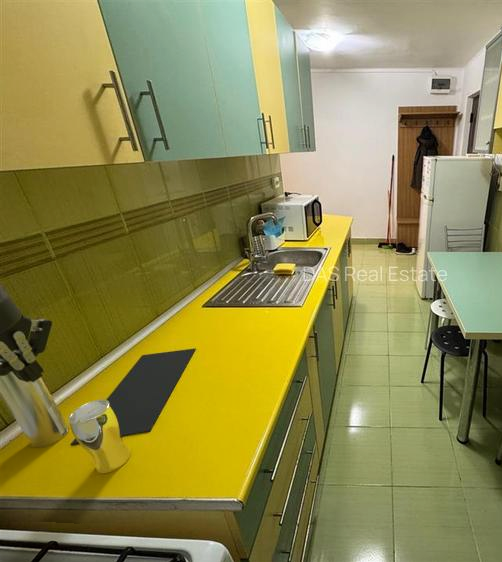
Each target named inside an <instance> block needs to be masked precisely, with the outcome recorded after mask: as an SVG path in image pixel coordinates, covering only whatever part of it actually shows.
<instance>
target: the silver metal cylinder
mask: <svg viewBox="0 0 502 562" xmlns="http://www.w3.org/2000/svg"><path fill="white" fill-rule="evenodd" d="M1 364H2V363H0V365H1ZM0 397H1V399H2V400H3V402H4V403H5V405H6V407H7V408H8V410H9V411H10V413H11V414H12V416H13V418H14V419H15V421H16V423H17V424H18V425H19V427H20V429H21V430H22V432H23V434H24V435H25V437H26V438H27V440H28V441H29V443H30V444H31V446H32V447H33V448H35V449H42V448H46V447H48V446H51V445H53V444H55V443H57V442H59V441H60V440H61V439H63V438H64V437H65V436H66V435H67V434H68V433H69V431H70V427H69V426H68V425H69V424H68V423H67V421H66V420H65V417H64V416H63V414H62V413H61V411H60V409H59V407H58V405H57V403H56V402H55V399H54V398H53V396H52V394H51V392H50V390H49V389H48V387H47V385H46V384H45V382H44V380H43V378H42V377H40V378H39V379H37V380H36V381H34V382H30V381H29V382H25V381H22V380H19V379H18V378H17V377H16V376H15V375H14V374H13V372H9V373H8V374H7V375H5V376H0Z"/></svg>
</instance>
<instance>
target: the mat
mask: <svg viewBox="0 0 502 562" xmlns="http://www.w3.org/2000/svg"><path fill="white" fill-rule="evenodd" d="M196 350H197V348H196V347H195V348H188V349H180V350H171V351H164V352H156V353H155V352H154V353H148V354H142V355H141V356H140V357H139V359H137V361H136V362H135V363H134V365H132V367H131V368H130V370H129V371H128V372H127V373H126V375H125V376H124V377H123V378H122V379H121V381H120V382H119V383H118V384H117V386H116V387H115V388H114V389H113V391H111V393H110V394H109V395H108V397H107V398H106V399H105V400H108V401H109V403H110V405H111V406H112V408H113V409H114V411H115V413H116V415H117V417H118V420H119V423H120V429H121V436H122V437H126V436H132V435H139V434H144V433H151V431H152V429H153V428H154V426H155V424H156V422H157V421H158V418H159V417H160V415H161V413H162V411H163V409H164V408H165V406H166V404H167V402H168V401H169V399H170V397H171V395H172V393H173V391H174V389H175V388H176V386H177V384H178V382H179V380H180V379H181V377H182V376H183V373H184V372H185V369H186V368H187V366H188V365H189V363H190V361H191V359H192V357H193V355H194V353H195V352H196ZM75 445H80V444H79V443H78V441H77V440H76V438H75V437H74V439H73V440H72V441H71V442H70V446H75Z"/></svg>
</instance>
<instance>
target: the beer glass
mask: <svg viewBox="0 0 502 562" xmlns="http://www.w3.org/2000/svg"><path fill="white" fill-rule="evenodd" d="M67 422H68V423H69V424H68V425H69V426H70V427H69V428H70V430H71V432H72V434H73V436H74V439H75V438H76V440H77V441H78V443H79V444H78V445H80V446H81V447H82V448H83V449H84V451H86V452H87V453H88V454H89V455H90V456H91V457H92V459H93V461H94V465H95V470H96V472H97V473H98V474H108V473H112V472H115V471H116V470H118V469H119V468H121V467H122V466H123V465H125V464H126V463H127V462H128V460H129V459H130V457H131V450H130V449H129V447H128V446H126V444H125V443H124V440H123V436H121V429H120V423H119V420H118V417H117V415H116V413H115V411H114V409H113V408H112V406H111V405H110V403H109V401H108V400H106V399H95V400H91V401H88V402H87V403H84V404H82V405H80V406H79V407H77V408H76V409H74V410H73V411H72V412H71V413H70V414H69V416H68V418H67Z"/></svg>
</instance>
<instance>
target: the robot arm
mask: <svg viewBox="0 0 502 562" xmlns="http://www.w3.org/2000/svg"><path fill="white" fill-rule="evenodd" d="M52 325H53V322H52V320H50V319H45V318H42V317H37V318H34V319H31V318H30V317H28V316H26V315H23V313H22V311H21V310H20V309H19V307H18V306H17V305H16V303H15V302H14V301H13V300H12V298H11V297H10V295H9V294H8V293H7V291H6V289H5V287H4V285H2V284H1V283H0V363H2V364H1V365H0V376H5V375H7V374H8V373H9V372H13V374H14V375H15V376H16V377H17V378H18V379H19V380H22V381H25V382H29V381H30V382H34V381H36V380H37V379H39V378H40V377H41V378H42V377H43V374H42V373H44V369H43V367H42V366H41V365H40V363H39V362H38V361H37V359H36V358H37V357H38V355H39V354H42V353H44V352H45V350H46V347H47V344H48V340H49V337H50V334H51V333H50V332H51V330H52Z"/></svg>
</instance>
